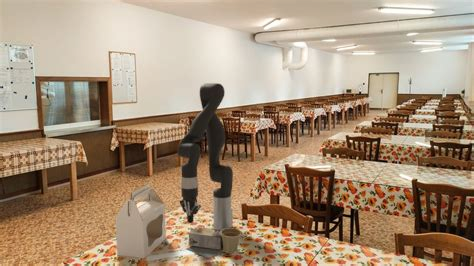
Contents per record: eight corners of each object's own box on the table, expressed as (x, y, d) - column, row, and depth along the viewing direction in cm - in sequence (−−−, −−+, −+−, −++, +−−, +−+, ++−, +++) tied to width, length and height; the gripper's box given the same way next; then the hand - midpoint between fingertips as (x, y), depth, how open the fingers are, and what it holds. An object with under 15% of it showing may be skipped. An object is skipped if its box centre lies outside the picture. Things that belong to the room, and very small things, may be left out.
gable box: (144, 259, 158) (141, 195, 155) (116, 255, 161) (113, 193, 158) (166, 238, 179) (164, 182, 176) (141, 235, 183) (139, 180, 179)
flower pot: (225, 257, 159) (226, 238, 158) (216, 247, 167) (217, 229, 166) (244, 253, 163) (245, 234, 162) (234, 244, 172) (235, 226, 170)
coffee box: (195, 226, 177) (227, 230, 173) (195, 239, 178) (227, 243, 174) (188, 232, 168) (221, 236, 164) (188, 246, 169) (221, 250, 165)
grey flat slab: (201, 242, 174) (201, 242, 174) (223, 252, 164) (223, 251, 164) (186, 248, 168) (186, 248, 167) (208, 258, 158) (208, 258, 158)
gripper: (205, 186, 166) (206, 223, 168) (186, 181, 175) (187, 217, 177) (192, 190, 161) (193, 228, 163) (174, 184, 170) (175, 221, 172)
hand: (190, 222), depth 170 cm, fingers closed
